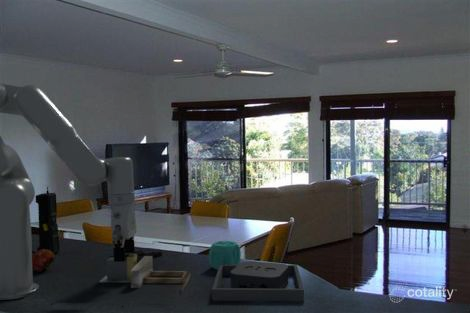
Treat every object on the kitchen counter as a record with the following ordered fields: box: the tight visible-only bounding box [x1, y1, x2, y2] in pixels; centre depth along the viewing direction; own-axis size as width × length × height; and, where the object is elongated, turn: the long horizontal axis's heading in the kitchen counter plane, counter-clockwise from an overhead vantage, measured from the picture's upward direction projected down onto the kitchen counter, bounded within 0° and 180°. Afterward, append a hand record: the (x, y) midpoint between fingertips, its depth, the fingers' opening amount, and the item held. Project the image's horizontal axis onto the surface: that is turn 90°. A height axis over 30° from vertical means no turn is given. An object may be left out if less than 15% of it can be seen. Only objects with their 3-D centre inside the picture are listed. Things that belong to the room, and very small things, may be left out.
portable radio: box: [35, 186, 60, 255], centre depth 175 cm, size 8×6×25 cm
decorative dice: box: [208, 240, 242, 271], centre depth 156 cm, size 8×8×8 cm
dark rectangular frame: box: [211, 264, 305, 302], centre depth 135 cm, size 24×24×3 cm
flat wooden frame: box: [98, 256, 191, 294], centre depth 139 cm, size 26×16×6 cm, turn 87°
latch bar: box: [106, 253, 137, 281], centre depth 139 cm, size 8×4×7 cm, turn 87°
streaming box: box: [230, 260, 289, 289], centre depth 136 cm, size 14×14×5 cm
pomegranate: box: [32, 249, 56, 273], centre depth 154 cm, size 7×7×10 cm
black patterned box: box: [108, 249, 163, 264], centre depth 160 cm, size 5×20×15 cm
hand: (124, 256), depth 139 cm, fingers open, 9 cm apart
